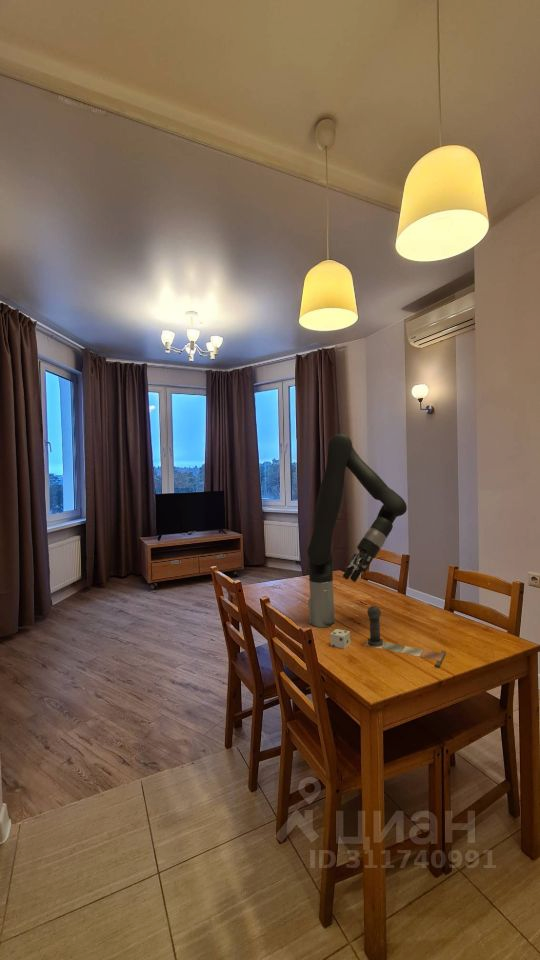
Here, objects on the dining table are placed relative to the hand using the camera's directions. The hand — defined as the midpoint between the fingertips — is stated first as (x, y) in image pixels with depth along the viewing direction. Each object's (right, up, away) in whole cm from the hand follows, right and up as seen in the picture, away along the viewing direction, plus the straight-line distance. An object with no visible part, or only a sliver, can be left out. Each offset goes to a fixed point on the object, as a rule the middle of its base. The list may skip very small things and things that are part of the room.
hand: (348, 579), depth 142 cm
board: (+14, -19, -16) cm, 29 cm away
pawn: (+7, -19, -11) cm, 23 cm away
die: (-5, -20, -11) cm, 23 cm away
